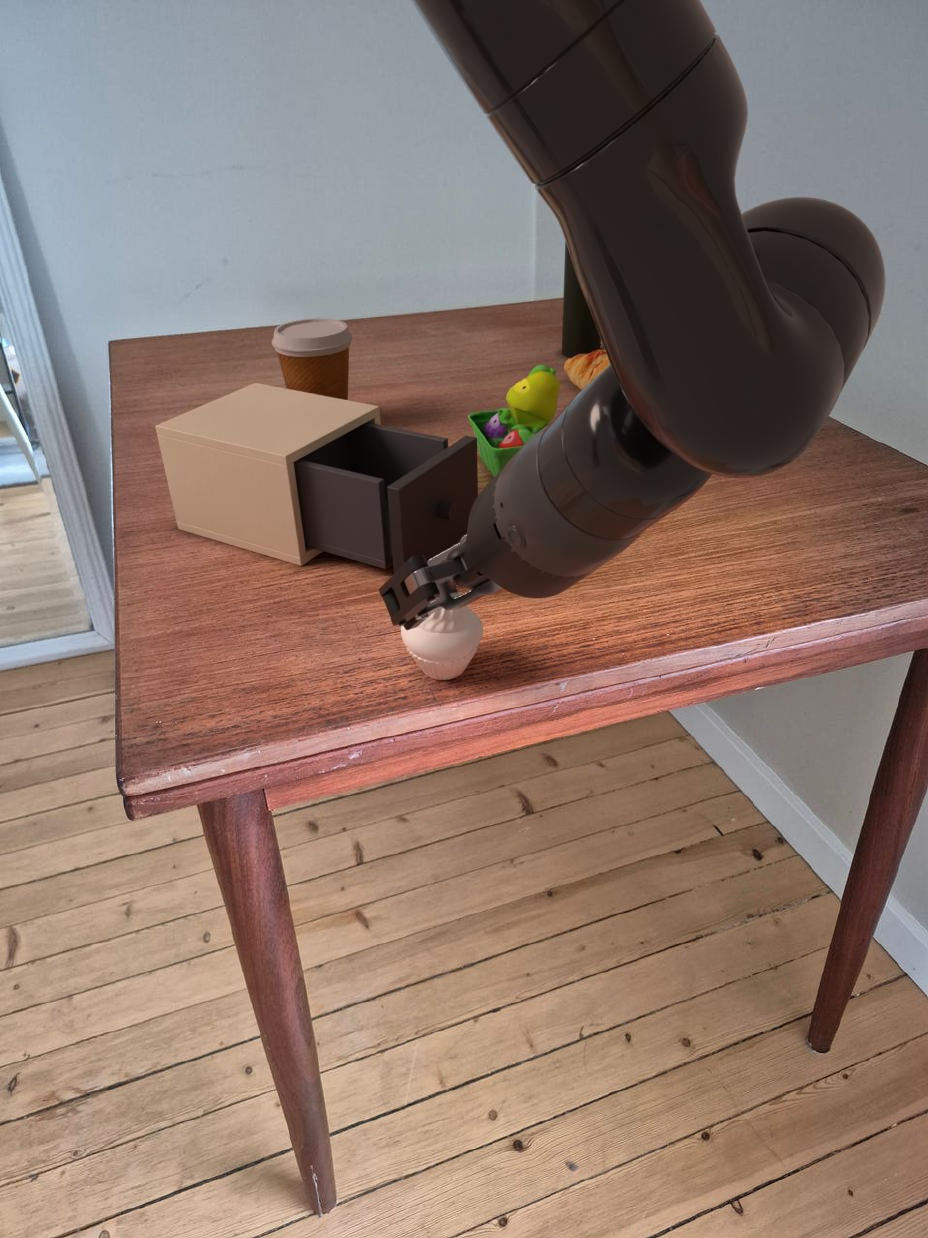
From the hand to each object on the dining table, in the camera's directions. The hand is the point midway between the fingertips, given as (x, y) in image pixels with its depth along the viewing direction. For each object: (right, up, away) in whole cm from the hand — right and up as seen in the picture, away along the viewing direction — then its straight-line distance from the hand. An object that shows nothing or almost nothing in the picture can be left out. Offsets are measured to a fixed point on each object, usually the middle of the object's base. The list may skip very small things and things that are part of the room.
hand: (458, 597), depth 62 cm
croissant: (+22, +28, +57) cm, 67 cm away
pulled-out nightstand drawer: (-7, +6, +22) cm, 24 cm away
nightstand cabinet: (-18, +9, +28) cm, 35 cm away
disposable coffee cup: (-17, +23, +50) cm, 58 cm away
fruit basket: (+6, +15, +37) cm, 40 cm away
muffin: (-1, -5, +6) cm, 8 cm away
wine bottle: (+18, +38, +73) cm, 84 cm away
